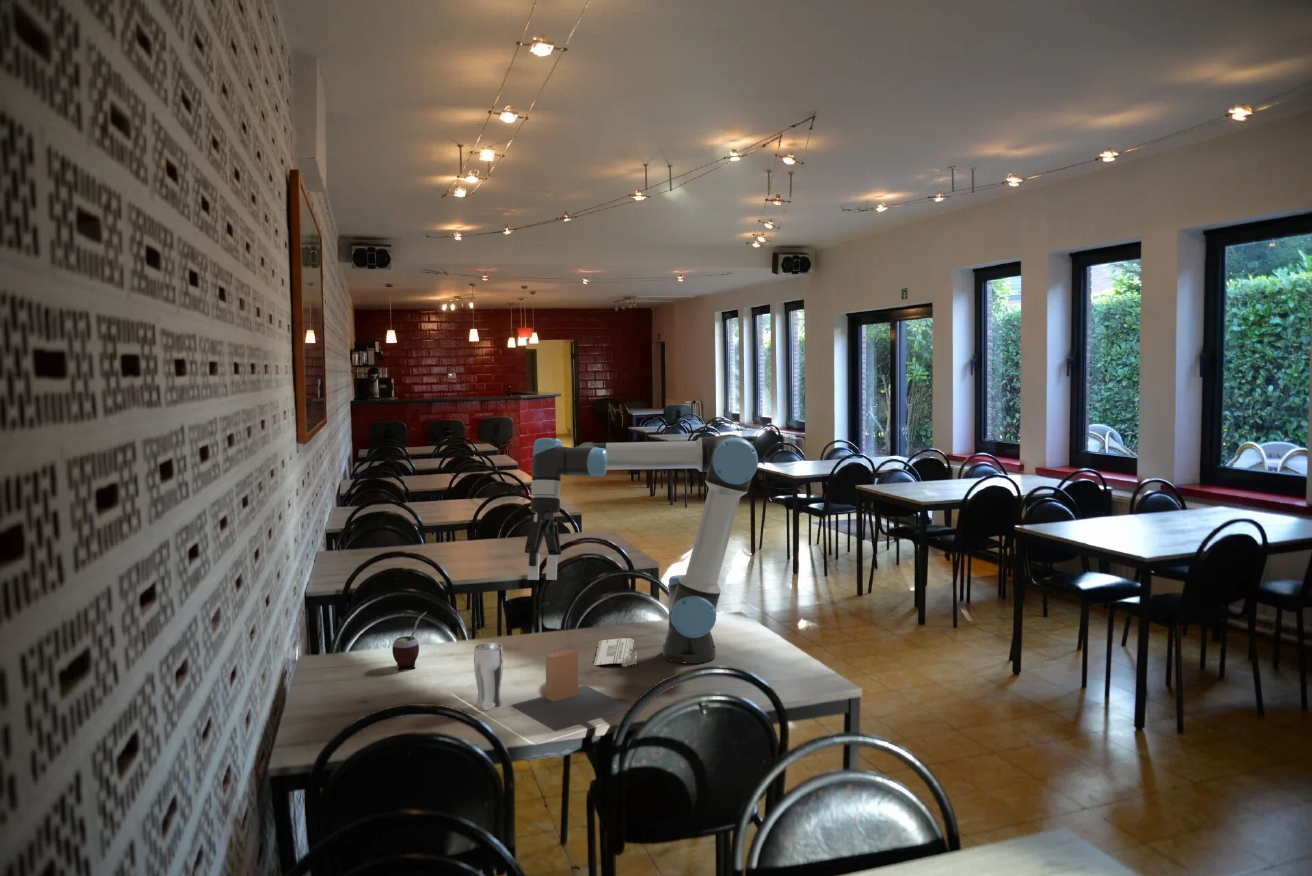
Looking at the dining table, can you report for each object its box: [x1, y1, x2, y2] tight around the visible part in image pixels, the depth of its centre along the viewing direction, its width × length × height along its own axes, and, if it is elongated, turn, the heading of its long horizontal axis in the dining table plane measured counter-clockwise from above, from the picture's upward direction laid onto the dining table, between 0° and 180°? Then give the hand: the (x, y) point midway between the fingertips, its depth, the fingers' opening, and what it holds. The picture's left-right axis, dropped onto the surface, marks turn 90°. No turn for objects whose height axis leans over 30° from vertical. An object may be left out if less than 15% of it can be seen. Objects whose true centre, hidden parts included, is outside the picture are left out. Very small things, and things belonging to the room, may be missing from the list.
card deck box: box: [545, 648, 579, 702], centre depth 225 cm, size 8×3×11 cm, turn 129°
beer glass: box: [473, 641, 504, 712], centre depth 219 cm, size 7×7×15 cm
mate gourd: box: [391, 611, 427, 672], centre depth 248 cm, size 8×8×15 cm
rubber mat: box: [509, 684, 631, 732], centre depth 218 cm, size 22×20×1 cm
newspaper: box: [592, 637, 638, 667], centre depth 259 cm, size 23×12×2 cm, turn 179°
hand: (542, 579), depth 234 cm, fingers open, 13 cm apart
